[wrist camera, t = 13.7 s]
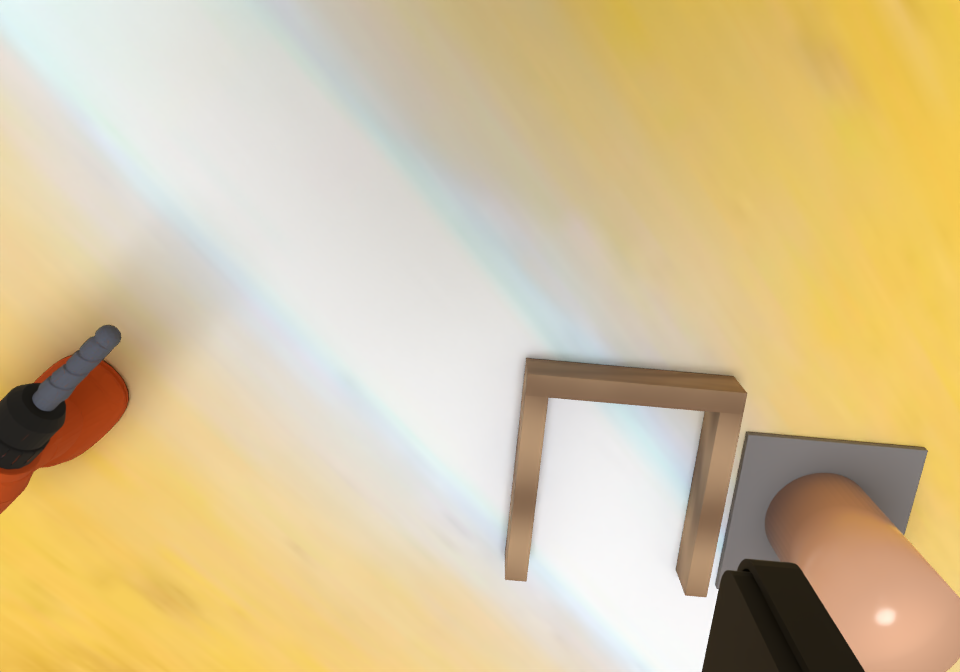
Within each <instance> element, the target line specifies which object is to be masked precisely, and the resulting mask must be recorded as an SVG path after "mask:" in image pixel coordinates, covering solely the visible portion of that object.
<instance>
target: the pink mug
mask: <svg viewBox="0 0 960 672" xmlns="http://www.w3.org/2000/svg"><path fill="white" fill-rule="evenodd" d="M765 531H766V535H767V538H768V541H769V543H770V544H771V546H772V548H773V550H774V551H775V553H776V555H777V556H778V558H779V560H780V561H781V562H791V563H795V564H797V565H798V566H799V567H800V569H801V570H802V572H803V573H804V575H805V576H806V578H807V579H808V581H809V583H810V584H811V586H812V587H813V589H814V591H815V592H816V594H817V595H818V597H819V599H820V600H821V602H822V603H823V605H824V607H825V608H826V610H827V611H828V613H829V615H830V616H831V618H832V619H833V621H834V623H835V624H836V626H837V627H838V629H839V631H840V632H841V634H842V635H843V637H844V639H845V640H846V642H847V643H848V645H849V647H850V648H851V650H852V651H853V653H854V655H855V656H856V658H857V659H858V661H859V663H860V664H861V666H862V667H863V669H864V671H865V672H946V671H947V670H948V669H950V668H951V667H952V666H953V665H954V664H955V663H956V662H957V660H958V659H959V658H960V598H959V597H958V595H957V594H956V593H955V592H954V591H953V590H952V589H951V588H950V587H949V585H948V584H947V583H946V582H945V581H944V580H943V579H942V578H941V576H940V575H939V574H938V573H937V572H936V571H935V570H934V569H933V568H932V566H931V565H930V564H929V563H928V562H927V561H926V560H925V559H924V557H923V556H922V555H921V554H920V553H919V552H918V551H917V550H916V549H915V547H914V546H913V545H912V544H911V543H910V542H909V541H908V540H907V539H906V537H905V536H904V535H903V534H902V533H901V532H900V531H899V530H898V528H897V527H896V526H895V525H894V524H893V523H892V522H891V521H890V520H889V518H888V517H887V516H886V515H885V514H884V513H883V512H882V511H881V510H880V508H879V507H878V506H877V505H876V504H875V503H874V502H873V501H872V499H871V498H870V497H869V496H868V495H867V494H866V493H865V492H864V491H863V489H862V488H861V487H860V486H859V485H858V484H856V483H855V482H854V481H852V480H850V479H849V478H847V477H844V476H842V475H838V474H833V473H814V474H809V475H806V476H803V477H800V478H798V479H796V480H794V481H792V482H790V483H789V484H787V485H786V486H785V487H783V488H782V489H781V490H780V491H779V492H778V493H777V494H776V495H775V497H774V498H773V500H772V501H771V503H770V505H769V507H768V509H767V512H766V516H765Z"/></svg>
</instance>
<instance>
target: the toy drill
mask: <svg viewBox="0 0 960 672" xmlns="http://www.w3.org/2000/svg"><path fill="white" fill-rule="evenodd" d="M120 340H121V333H120V331H119V330H118V329H117V328H116V327H114V326H111V325H104V326H102V327H100V328H99V329H98V330H97V331H96V333H95V336H94V337H90V338H89V339H88V340H87V341H86V342H85V343H84V344H83V345H82V346H81V347H80V350H78V351H76V352H75V353H74V354H73V355H72V356H68V357H65V358H63V359H62V360H60V361H58V362H57V363H55V364H54V365H52V366H51V367H50V368H49V369H48V370H46V371H45V372H44V373H43V374H42V375H41V376H40V377H39V378H38V379H37V380H36V381H35V382H34V383H32V384H26V385H20V386H17V387H15V388H14V389H12V390H11V391H10V392H9V393H8V394H7V395H6V396H5V397H4V398H3V399H2V400H1V401H0V514H1V513H2V512H3V511H4V510H5V509H6V508H7V507H8V506H9V505H10V504H11V503H12V502H13V501H14V500H15V499H16V498H17V497H18V496H19V495H20V494H21V493H22V492H23V491H24V490H25V488H26V487H27V485H28V483H29V480H30V478H31V476H32V474H33V472H34V471H35V470H37V469H39V468H41V467H51V466H54V465H57V464H60V463H63V462H66V461H69V460H72V459H74V458H75V457H77V456H79V455H81V454H82V453H84V452H85V451H86V450H88V449H89V448H90V447H92V446H93V445H94V444H95V443H96V442H97V441H99V440H100V439H101V438H102V437H103V436H104V435H105V434H106V433H107V432H108V431H109V430H110V429H111V428H112V427H113V426H114V425H115V424H116V423H117V422H118V421H119V419H120V418H121V416H122V415H123V413H124V412H125V410H126V407H127V403H128V400H129V399H128V390H127V387H126V385H125V382H124V381H123V379H122V378H121V376H120V375H119V374H118V373H117V372H116V371H115V370H114V369H113V368H112V367H111V366H110V365H109V364H107V363H106V362H105V361H103V359H104V358H105V357H106V356H107V355H108V354H109V353H110V352H111V351H112V349H113V348H114V347H115V346H117V345H118V344H119V342H120Z"/></svg>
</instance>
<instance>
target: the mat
mask: <svg viewBox="0 0 960 672" xmlns="http://www.w3.org/2000/svg"><path fill="white" fill-rule="evenodd" d="M927 452H928V450H926V449H925V448H924V447H913V446H901V445H890V444H878V443H867V442H856V441H844V440H833V439H822V438H810V437H799V436H787V435H776V434H765V433H753V432H746V436H745V441H744V446H743V451H742V456H741V461H740V466H739V471H738V476H737V481H736V485H735V490H734V495H733V500H732V505H731V510H730V515H729V520H728V525H727V530H726V535H725V540H724V544H723V549H722V554H721V559H720V564H719V569H718V574H717V579H716V584H715V585H716V588H717V589H719V586H720V581H721V578H722V575H723V573H724V572H725V571H726V570H734V571H737V569H738V566H739V564H740V563H741V561H742V560H744V559H756V560H768V561H779V562H781V561H780V560H779V558H778V556H777V555H776V553H775V551H774V550H773V548H772V546H771V544H770V543H769V541H768V538H767V535H766V531H765V516H766V512H767V509H768V507H769V505H770V503H771V501H772V500H773V498H774V497H775V495H776V494H777V493H778V492H779V491H780V490H781V489H782V488H783V487H785V486H786V485H787V484H789V483H790V482H792V481H794V480H796V479H798V478H800V477H803V476H806V475H809V474H814V473H833V474H838V475H842V476H844V477H847V478H849V479H850V480H852V481H854V482H855V483H856V484H858V485H859V486H860V487H861V488H862V489H863V491H864V492H865V493H866V494H867V495H868V496H869V497H870V498H871V499H872V501H873V502H874V503H875V504H876V505H877V506H878V507H879V508H880V510H881V511H882V512H883V513H884V514H885V515H886V516H887V517H888V518H889V520H890V521H891V522H892V523H893V524H894V525H895V526H896V527H897V528H898V530H899V531H900V532H901V533H902V534H903V535H904V534H905V530H906V527H907V523H908V519H909V516H910V512H911V509H912V505H913V502H914V498H915V495H916V491H917V487H918V484H919V480H920V477H921V473H922V470H923V466H924V463H925V459H926V455H927Z"/></svg>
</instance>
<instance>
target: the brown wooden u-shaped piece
mask: <svg viewBox="0 0 960 672" xmlns="http://www.w3.org/2000/svg"><path fill="white" fill-rule="evenodd" d="M548 397H549V398H560V399H571V400H583V401H594V402H606V403H617V404H628V405H640V406H651V407H662V408H674V409H685V410H697V411H705V414H704V419H703V425H702V430H701V436H700V441H699V447H698V452H697V457H696V463H695V468H694V474H693V479H692V484H691V490H690V495H689V501H688V506H687V512H686V517H685V522H684V528H683V533H682V539H681V544H680V550H679V555H678V560H677V566H676V572H677V574H678V577H679V580H680V582H681V585H682V588H683V591H684V593H685V595H687V596H698V597H707V592H708V587H709V582H710V577H711V572H712V567H713V562H714V557H715V552H716V547H717V542H718V537H719V532H720V527H721V522H722V517H723V512H724V507H725V502H726V497H727V492H728V487H729V482H730V477H731V472H732V467H733V462H734V457H735V452H736V447H737V442H738V437H739V432H740V427H741V422H742V417H743V412H744V407H745V402H746V397H747V392H746V391H745V390H744V389H743V387H742V386H741V385H740V384H739V382H738V381H737V380H736V379H735V378H734V376H723V375H712V374H701V373H689V372H678V371H667V370H655V369H644V368H632V367H621V366H610V365H598V364H587V363H576V362H564V361H553V360H542V359H530V358H526V365H525V374H524V383H523V392H522V401H521V411H520V420H519V429H518V438H517V448H516V457H515V466H514V475H513V485H512V494H511V503H510V512H509V521H508V531H507V540H506V549H505V580H515V581H526V580H527V572H528V564H529V555H530V547H531V538H532V530H533V522H534V513H535V505H536V496H537V488H538V480H539V471H540V463H541V454H542V446H543V438H544V429H545V421H546V412H547V404H548Z"/></svg>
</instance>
